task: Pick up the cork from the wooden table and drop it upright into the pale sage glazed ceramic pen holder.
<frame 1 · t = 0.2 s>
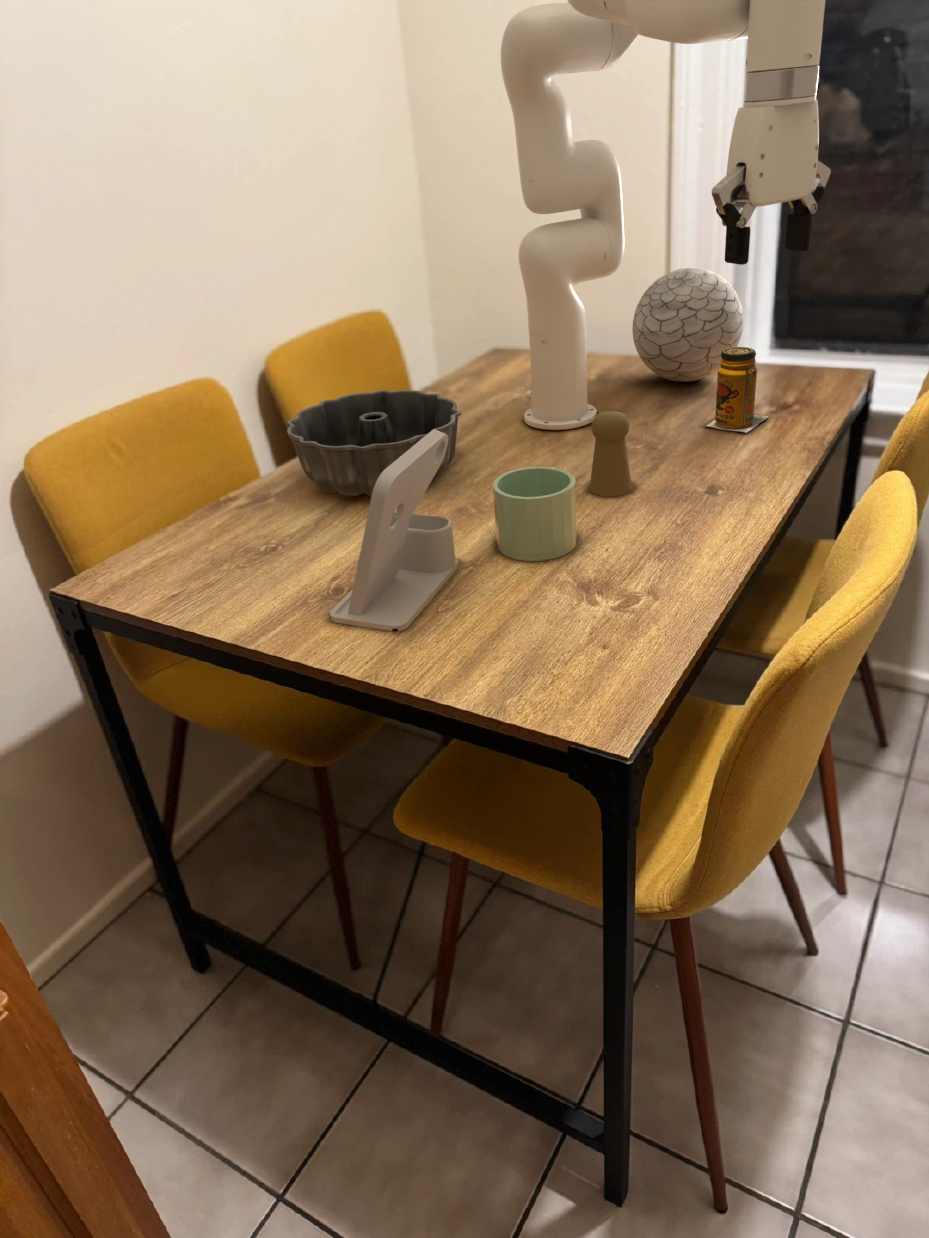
hand: (766, 256, 105), 31 cm above the table, tool pointing down, fingers open, 9 cm apart
phone holder: (398, 591, 108), on the table
condiment: (736, 423, 147), on the table
decorative sphere: (684, 380, 169), on the table
cork: (610, 489, 128), on the table
bundt pan: (382, 478, 140), on the table
pen holder: (536, 543, 115), on the table
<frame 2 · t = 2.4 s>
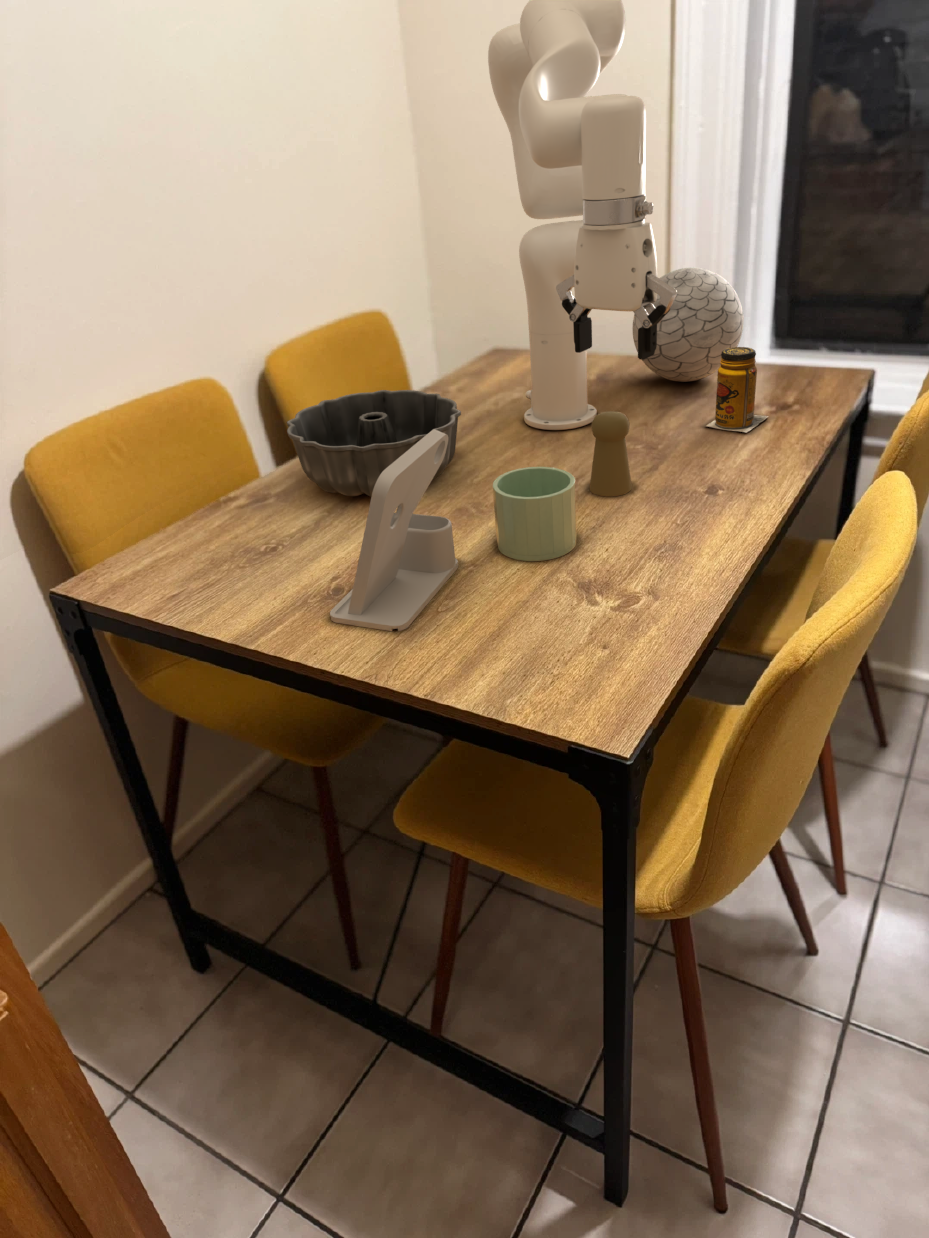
hand: (614, 353, 118), 19 cm above the table, tool pointing down, fingers open, 9 cm apart
nothing on the table moved.
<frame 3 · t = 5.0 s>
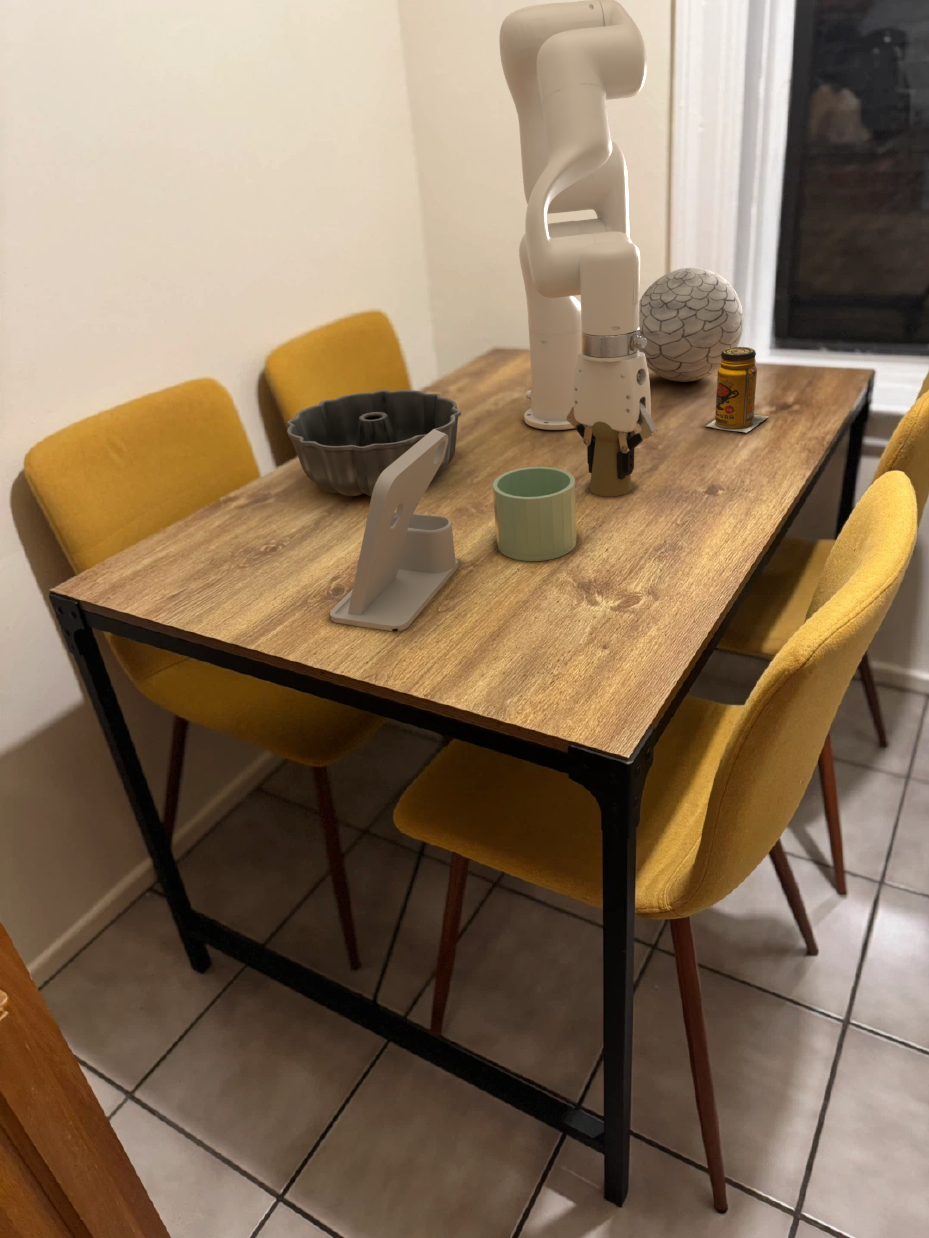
hand: (610, 471, 127), 3 cm above the table, tool pointing down, fingers closed on cork, 4 cm apart
cork: (610, 489, 128), on the table, touching gripper
everything else where it was.
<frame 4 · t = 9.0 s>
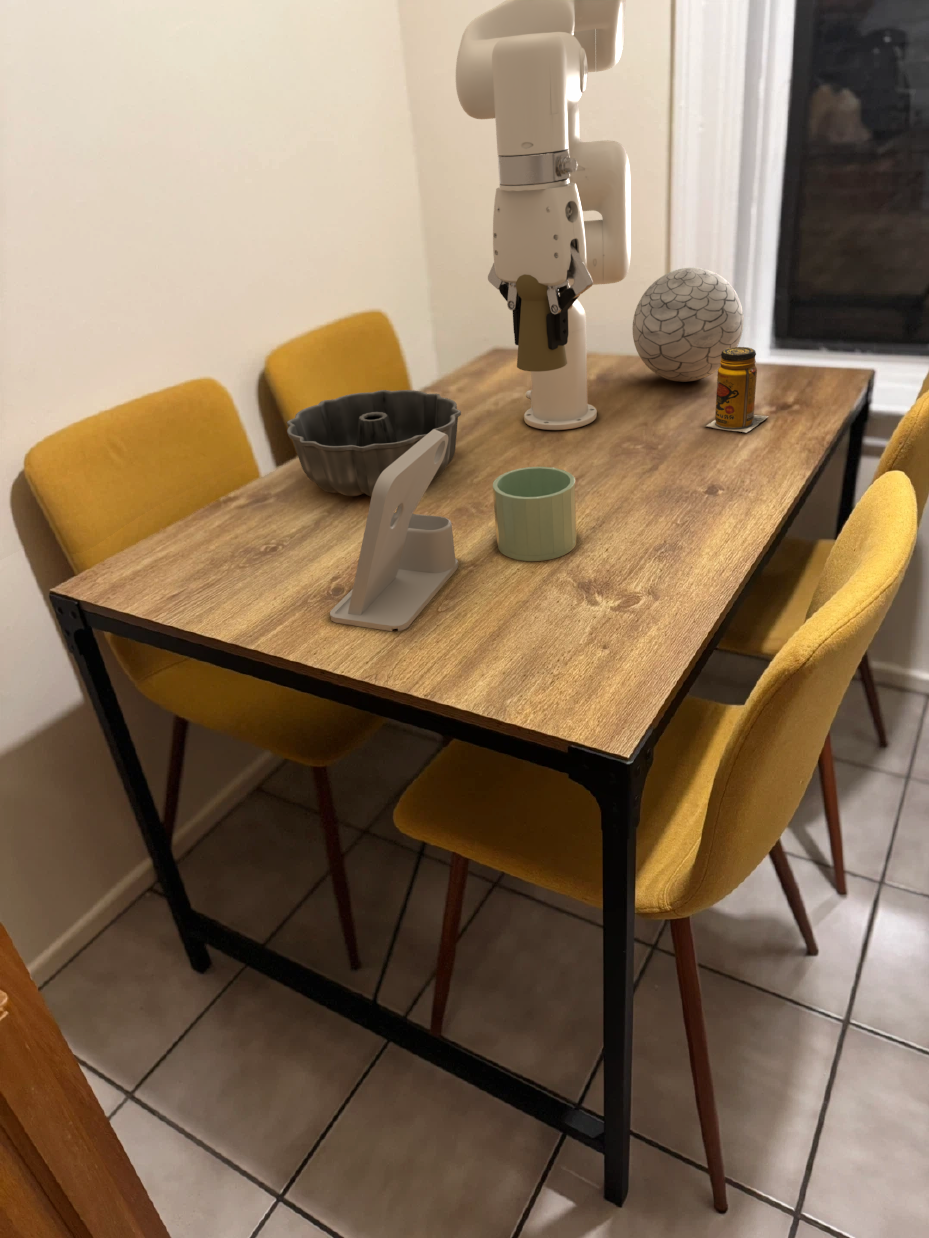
hand: (541, 343, 105), 25 cm above the table, tool pointing down, fingers closed on cork, 4 cm apart
cork: (542, 366, 106), point 22 cm above the table, touching gripper
everything else where it was.
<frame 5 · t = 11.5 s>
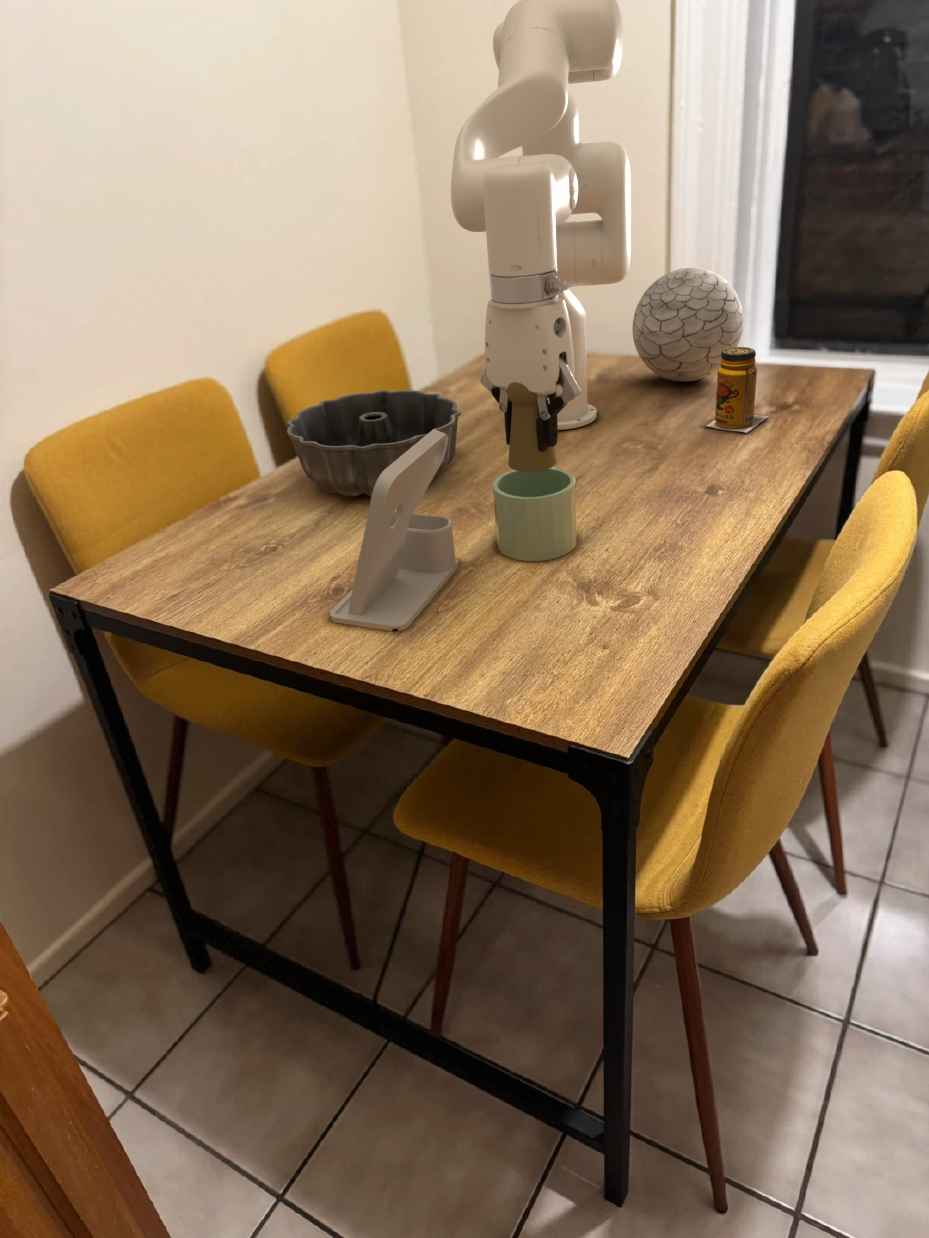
hand: (531, 443, 108), 14 cm above the table, tool pointing down, fingers closed on cork, 4 cm apart
cork: (532, 464, 110), point 11 cm above the table, touching gripper
everything else where it was.
when the fingers open (8 cm above the table, at t = 13.4 s): cork drops 5 cm, resting on pen holder.
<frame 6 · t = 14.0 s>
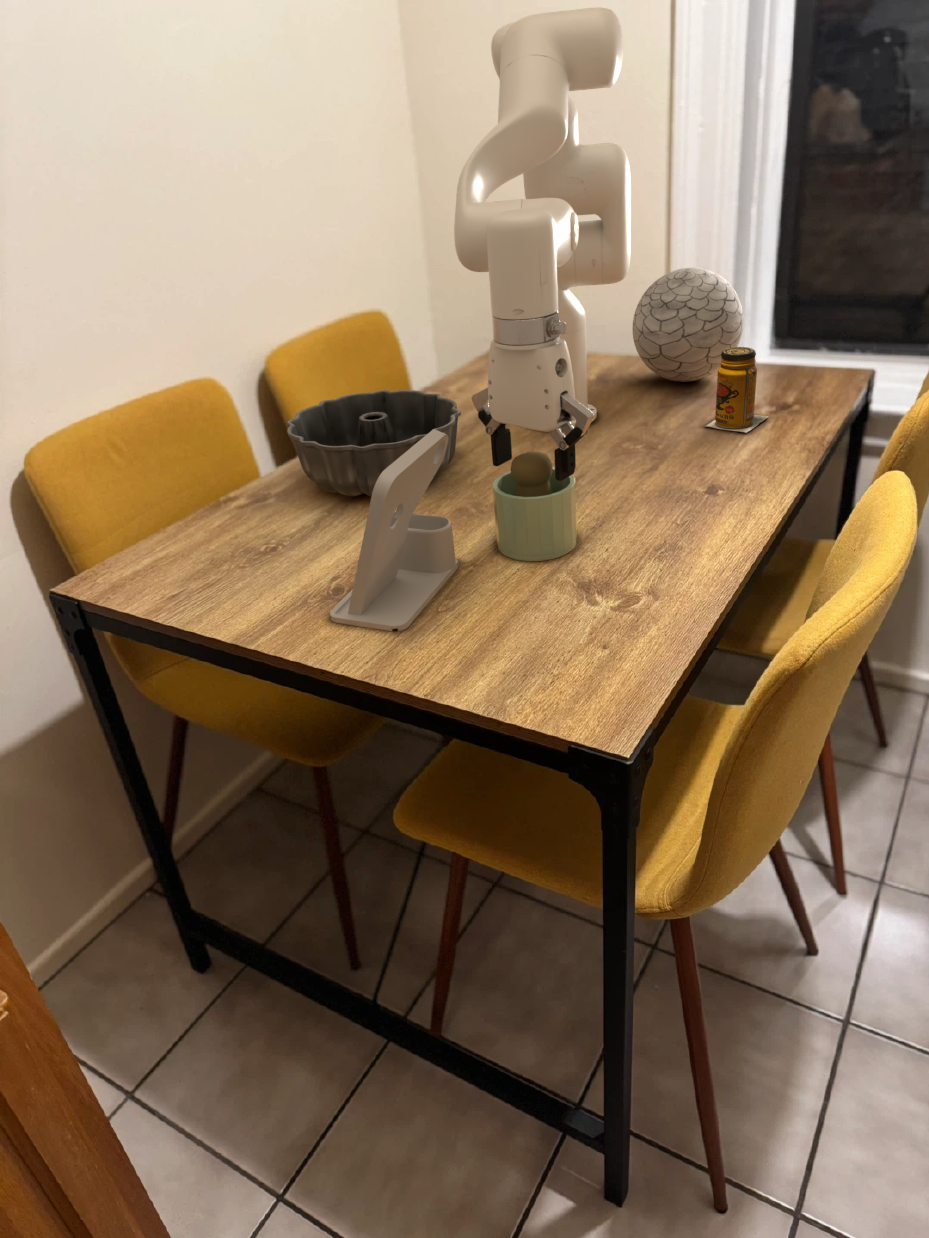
hand: (533, 469, 110), 10 cm above the table, tool pointing down, fingers open, 9 cm apart
cork: (537, 537, 115), point 1 cm above the table, touching pen holder
everything else where it was.
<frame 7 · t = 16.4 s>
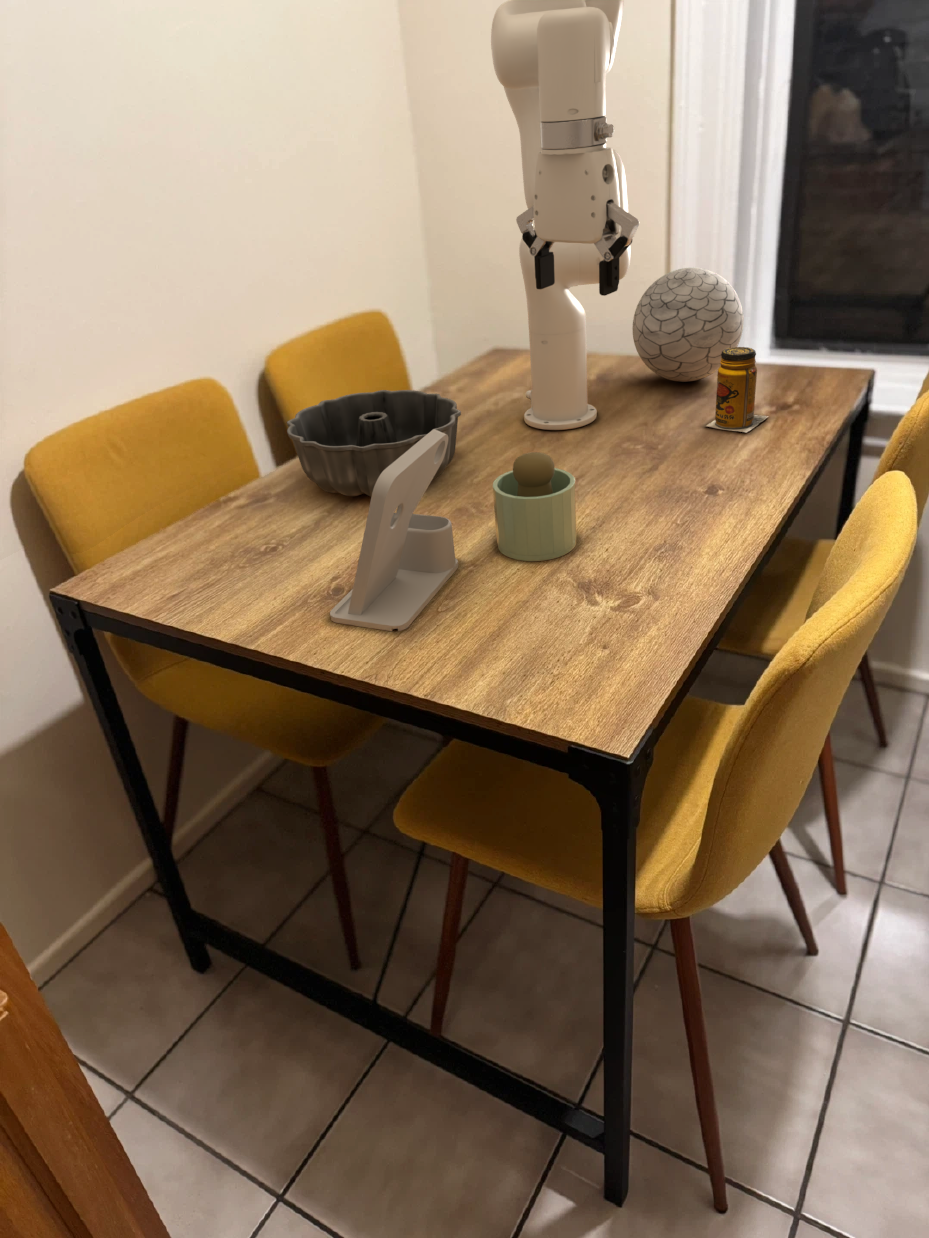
hand: (576, 290, 112), 28 cm above the table, tool pointing down, fingers open, 9 cm apart
nothing on the table moved.
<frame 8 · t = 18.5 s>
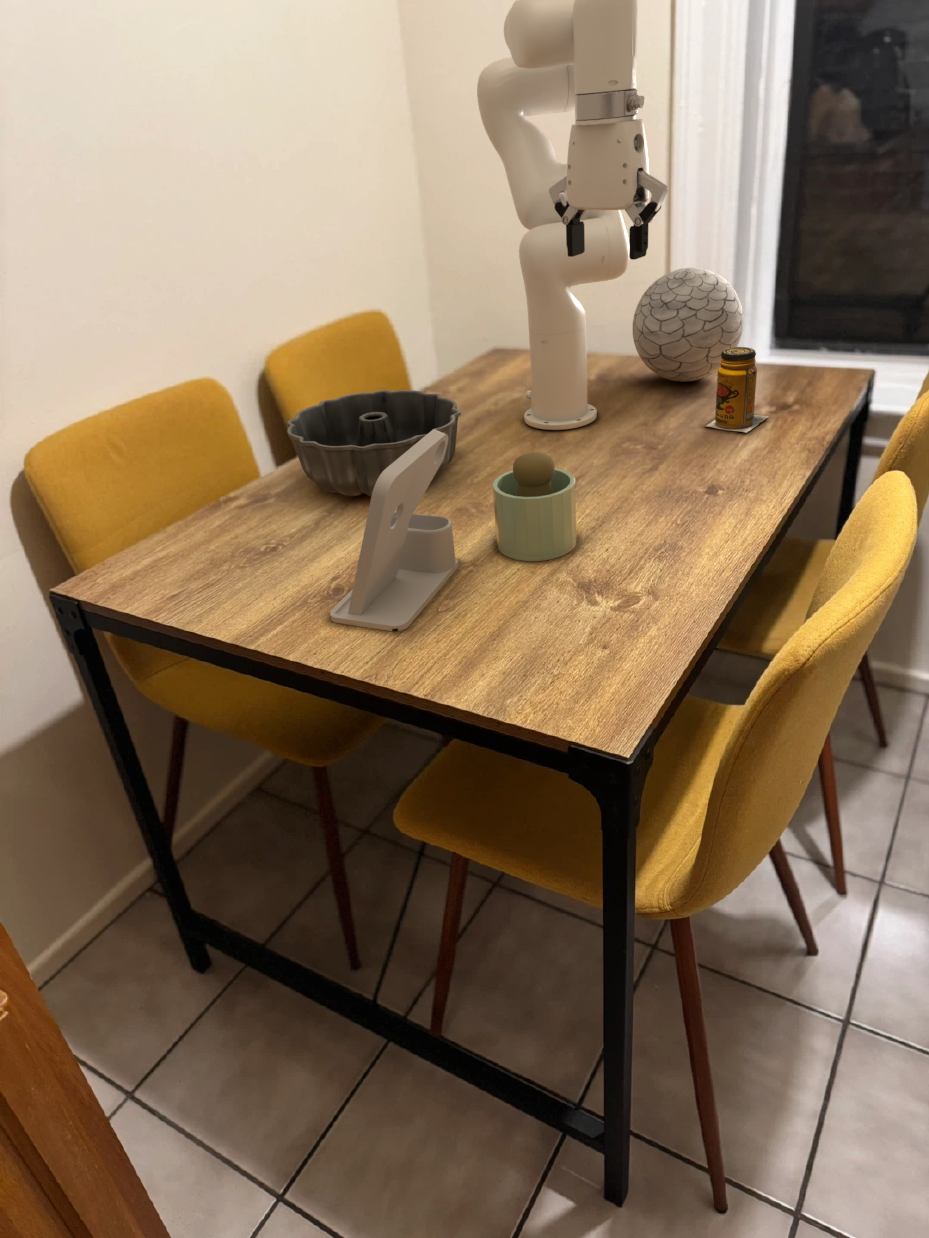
hand: (606, 256, 119), 30 cm above the table, tool pointing down, fingers open, 9 cm apart
nothing on the table moved.
at the end: cork 0.4 cm off-centre in the pen holder, point 0.6 cm above the pen holder's base; cork tilted 0°; the gripper is holding nothing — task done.
